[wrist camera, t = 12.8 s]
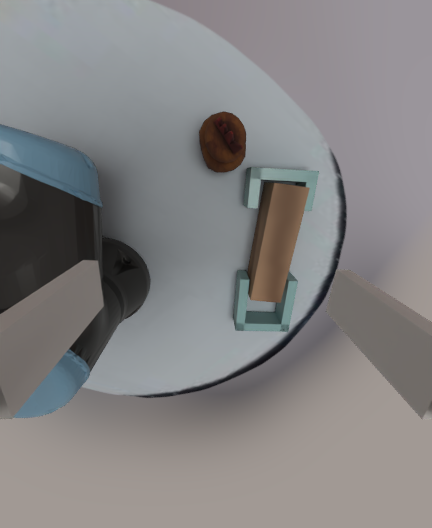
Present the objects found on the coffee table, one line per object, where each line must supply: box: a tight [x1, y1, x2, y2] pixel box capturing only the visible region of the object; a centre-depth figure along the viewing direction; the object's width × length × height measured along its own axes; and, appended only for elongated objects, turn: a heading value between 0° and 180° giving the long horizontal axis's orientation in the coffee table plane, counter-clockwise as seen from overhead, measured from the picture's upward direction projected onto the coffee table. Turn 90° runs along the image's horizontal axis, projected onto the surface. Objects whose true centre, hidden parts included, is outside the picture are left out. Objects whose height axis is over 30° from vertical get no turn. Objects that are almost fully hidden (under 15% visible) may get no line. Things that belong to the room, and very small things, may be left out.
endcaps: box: [233, 167, 319, 332], centre depth 39 cm, size 10×27×4 cm, turn 177°
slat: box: [247, 182, 310, 303], centre depth 37 cm, size 5×18×6 cm, turn 173°
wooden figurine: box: [199, 112, 246, 172], centre depth 27 cm, size 7×6×15 cm
